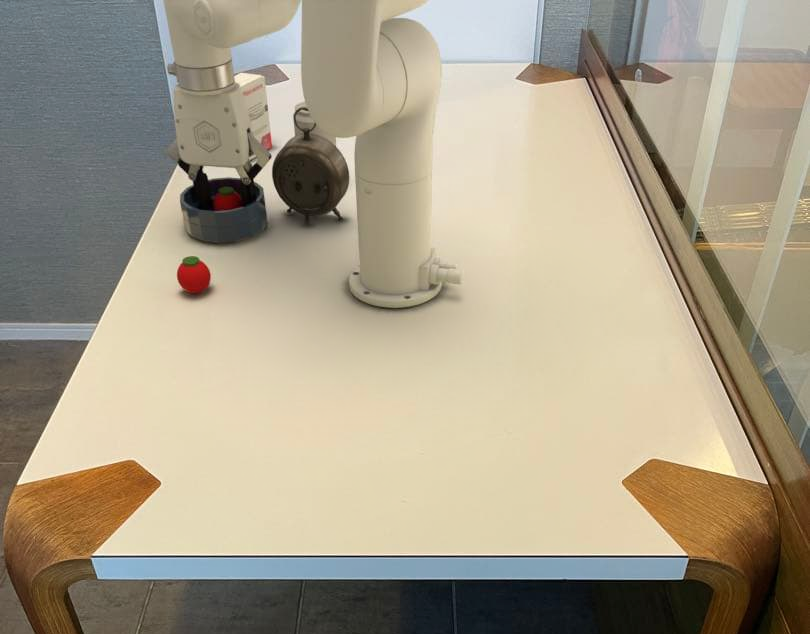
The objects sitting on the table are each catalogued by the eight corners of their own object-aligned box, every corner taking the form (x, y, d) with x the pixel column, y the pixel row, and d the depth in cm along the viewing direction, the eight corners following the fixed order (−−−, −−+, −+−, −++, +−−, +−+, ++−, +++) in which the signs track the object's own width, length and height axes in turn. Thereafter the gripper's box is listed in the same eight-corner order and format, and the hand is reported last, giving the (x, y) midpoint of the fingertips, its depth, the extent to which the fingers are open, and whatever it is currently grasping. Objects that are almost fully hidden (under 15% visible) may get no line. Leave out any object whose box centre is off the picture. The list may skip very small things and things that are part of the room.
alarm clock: (352, 216, 131) (346, 104, 120) (340, 232, 128) (333, 117, 116) (286, 208, 134) (274, 97, 122) (273, 223, 130) (259, 110, 119)
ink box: (250, 142, 153) (241, 70, 145) (273, 147, 152) (265, 74, 143) (222, 159, 148) (210, 85, 140) (245, 164, 146) (235, 89, 138)
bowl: (278, 213, 133) (274, 181, 129) (251, 249, 124) (246, 216, 121) (205, 206, 135) (199, 174, 131) (173, 241, 126) (166, 208, 123)
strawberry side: (218, 284, 117) (212, 253, 114) (205, 300, 114) (199, 269, 111) (188, 281, 118) (181, 250, 115) (175, 297, 115) (168, 266, 111)
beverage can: (292, 187, 139) (284, 109, 131) (313, 173, 143) (306, 96, 135) (325, 194, 137) (319, 115, 129) (345, 180, 141) (341, 102, 133)
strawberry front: (249, 214, 131) (245, 185, 128) (238, 227, 128) (234, 197, 125) (222, 211, 132) (217, 182, 129) (211, 224, 129) (206, 194, 126)
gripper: (134, 80, 114) (163, 212, 127) (257, 87, 111) (274, 221, 124) (157, 63, 119) (183, 191, 132) (275, 69, 117) (290, 200, 129)
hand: (227, 204), depth 128 cm, fingers open, 6 cm apart
